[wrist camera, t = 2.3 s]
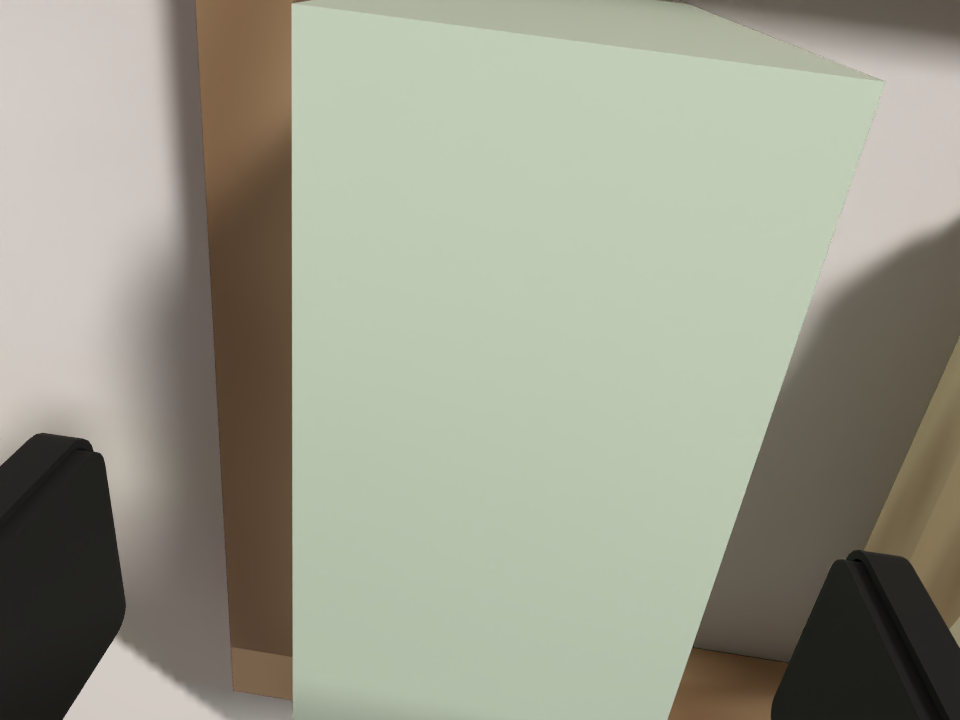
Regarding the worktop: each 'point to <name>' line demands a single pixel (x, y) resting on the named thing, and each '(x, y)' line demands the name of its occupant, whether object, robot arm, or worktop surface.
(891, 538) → the offcut bottom
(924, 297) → the worktop surface
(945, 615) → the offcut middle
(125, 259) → the worktop surface
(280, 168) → the frame
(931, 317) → the worktop surface
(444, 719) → the panel
